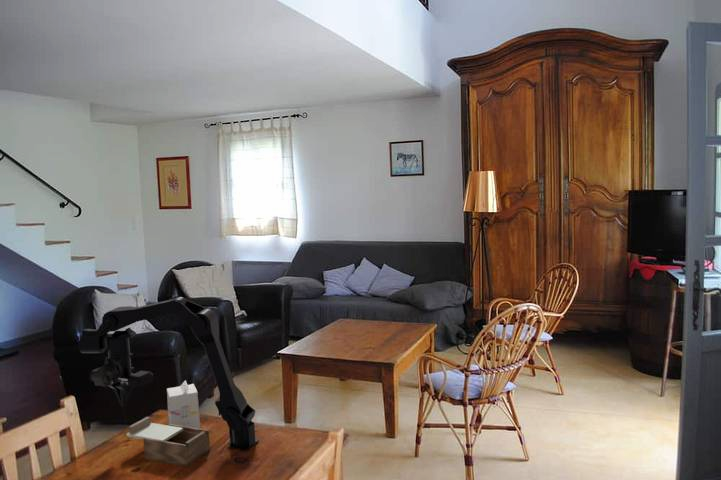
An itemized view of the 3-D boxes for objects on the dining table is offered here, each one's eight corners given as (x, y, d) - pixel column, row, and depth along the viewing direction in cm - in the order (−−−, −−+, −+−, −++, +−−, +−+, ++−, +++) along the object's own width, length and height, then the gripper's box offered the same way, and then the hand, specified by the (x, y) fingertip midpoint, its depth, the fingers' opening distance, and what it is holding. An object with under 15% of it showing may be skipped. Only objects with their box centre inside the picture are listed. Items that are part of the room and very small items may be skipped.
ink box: (168, 424, 182) (165, 382, 180) (195, 418, 185) (193, 377, 184) (172, 434, 174) (168, 391, 173) (200, 428, 178) (197, 386, 176)
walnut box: (210, 450, 163) (208, 429, 162) (186, 467, 154) (184, 445, 153) (170, 443, 168) (168, 423, 167) (145, 459, 159) (143, 438, 158)
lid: (183, 430, 164) (182, 421, 164) (163, 442, 157) (162, 433, 157) (147, 424, 169) (147, 415, 169) (126, 436, 162) (125, 427, 162)
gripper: (71, 357, 161) (76, 412, 163) (122, 364, 154) (127, 420, 156) (103, 346, 171) (107, 397, 173) (152, 351, 164) (156, 405, 166)
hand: (123, 405), depth 167 cm, fingers closed
